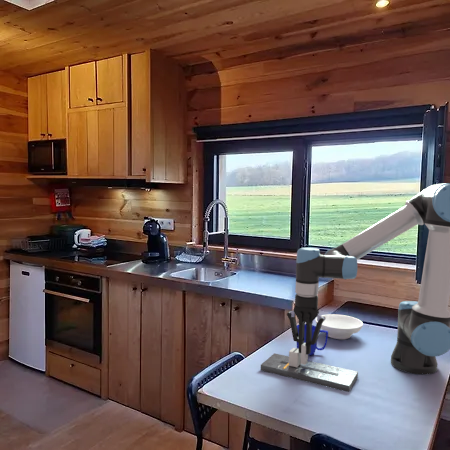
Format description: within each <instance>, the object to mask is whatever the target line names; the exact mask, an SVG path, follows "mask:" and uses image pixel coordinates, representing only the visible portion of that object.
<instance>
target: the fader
mask: <svg viewBox="0 0 450 450" xmlns="http://www.w3.org/2000/svg"><path fill="white" fill-rule="evenodd" d="M288 356H289V366H293V367H298V366H299V365H300V364H301V353H299V349H298V348H297V347H292V348H291V349H290V350H289V351H288Z"/></svg>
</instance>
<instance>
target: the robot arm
mask: <svg viewBox="0 0 450 450" xmlns="http://www.w3.org/2000/svg"><path fill="white" fill-rule="evenodd" d="M418 225H419V226H423V225H425V226H426V228H427V229H428V236H427V242H426V243H427V244H426V249H425V255H424V261H423V268H422V275H421V281H420V288H419V293H418V294H419V295H418V300H416V301H414V300H405V301H401V302H399V304H398V309H397V311H398V312H397V314H398V315H397V316H398V317H397V334H396V335H397V336H396V338H397V339H396V344H395V346H394V349H393V351H392V354H391V356H390V365H391V366H393V367H394V368H395V369H397V370H398V371H402V372H405V373H409V374H414V375H426V376H427V375H432V374H435V373H437V371H438V366H439V365H438V360H437V358H436V357H439V356H443V355H445V354H446V353H448V352H449V351H450V310H449V302H450V182H447V183H435V184H432V185H430V186H427V187H426V188H424V189H423V190H422V191H420V192H418V193H417V194H416V195H414V196H413V197H412V198H410V199H408V200H406V201H405V203H404V206H403V207H400V208H399V209H398V210H396V211H394V212H393V213H391V214H389V215H388V216H386V217H384V218H383V219H381V220H379V221H378V222H376V223H374V224H373V225H371V226H369V227H368V228H366V229H364V230H363V231H361V232H359V233H358V234H357V235H355V236H353V237H351V238H349V239H348V240H346V241H344V242H343V243H342V244H340V245H337V246H336V247H335V248H330V249H328V250H327V251H326V252H325V253H324V254H321V252H320V249H319V248H316V247H301V248H298V249H297V251H296V260H295V261H296V262H295V265H296V267H295V291H294V293H295V295H294V307H293V310H290V311H288V312H287V313H286V316H287V318H288V320H289V324H290V328H291V329H290V330H291V335H292V339H293V342H296V343H297V342H298V343H299V353H301V364H304V365H305V364H306V363H307V362H308V361H309V360H308V359H309V358H308V357H309V356H310V355H309V354H310V353H311V345H314V344H315V343H316V342H317V343H318V338H319V335H320V333H321V332H320V330H322V329H321V326H322V323H323V322H324V320H325V317H324V316H323V317H322V316H321V314H320V311H319V306H318V305H319V296H318V295H319V284H320V283H319V281H320V278H324V279H325V278H327V279H339V280H340V279H341V280H354V279H356V278H357V275H358V260H359V259H361V258H363V257H365V256H366V255H367V254H369V253H371V252H373V251H375V250H376V249H378V248H380V247H381V246H383V245H385V244H387V243H388V242H390V241H392V240H394V239H395V238H397V237H399V236H400V235H402V234H404V233H405V232H407V231H409V230H411V229H412V228H414V227H416V226H418ZM296 318H297V319H296ZM316 318H317V321H318V322H317V324H315V326H316V327H315V331H314V334H313V338H312V325H313V322H314V320H315V319H316ZM297 320H298V324H297ZM305 324H306V343H304V341H305V340H304V331H305ZM297 325H299V334H298V329H297ZM319 332H320V333H319Z"/></svg>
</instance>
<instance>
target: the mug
mask: <svg viewBox="0 0 450 450" xmlns="http://www.w3.org/2000/svg"><path fill="white" fill-rule="evenodd" d="M315 327H316V325H313V324H312V338H313V334H314V331H315ZM297 329H298V334H299V324H297ZM320 333H324V334H325V341H324V344H323V346H322V347H320V348H319V347H318V345H317V344H318V341H317V342H316V343H315V344H314V345H311V353H310V354H309V355H308V356H313V355H314V354H315V353H316V350H318V351H324V350H325V348H326V347H327V344H328V337H329V336H328V331H325V330H322V329H320V332H319V334H320ZM304 340H305V341H304V343H306V323H305V331H304ZM296 348H298V349H299V343H298V342H296Z"/></svg>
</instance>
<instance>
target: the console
mask: <svg viewBox="0 0 450 450" xmlns="http://www.w3.org/2000/svg"><path fill="white" fill-rule="evenodd" d="M260 371H262V372H266V373H270V374H274V375H277V376H282V377H285V378H289V379H295V380H296V381H297V380H299V381H303V382H305V383H311V384H315V385H319V386H324V387H326V386H327V387H326V388H330V387H331V388H330V389H334V388H335V390H338V389H339V390H338V391H342V390H343V391H342V392H348V393H350V391H351V389H352V388H353V386H354V385H355V383H356V381H357V380H358V378H359V371H357V370H352V369H348V368H343V367H339V366H335V365H329V364H325V363H320V362H316V361H312V360H308V362H307V363H306V364H305V365H304V364H300V365H299V366H298V367H293V366H289V355H284V354H280V353H273V354H271V355H270V356H269V357H268V358H267V359H266V360H264V361H263V362H262V363H261V364H260Z"/></svg>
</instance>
